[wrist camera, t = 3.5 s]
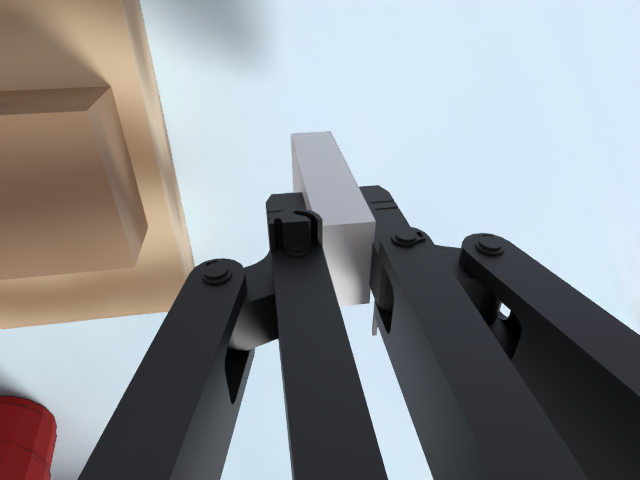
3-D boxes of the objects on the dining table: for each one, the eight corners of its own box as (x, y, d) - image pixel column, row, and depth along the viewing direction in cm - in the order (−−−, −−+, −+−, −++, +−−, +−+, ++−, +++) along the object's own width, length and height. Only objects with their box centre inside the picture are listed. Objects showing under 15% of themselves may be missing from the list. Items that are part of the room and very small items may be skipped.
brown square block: (148, 226, 19) (134, 267, 16) (1, 239, 18) (-37, 283, 16) (111, 86, 16) (86, 110, 13) (-71, 93, 15) (-133, 121, 12)
